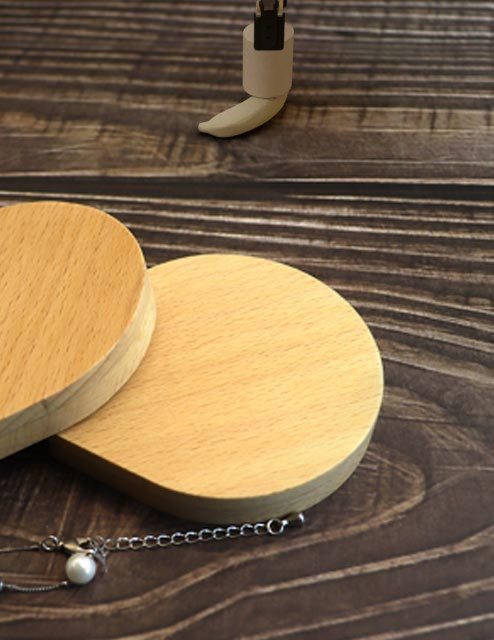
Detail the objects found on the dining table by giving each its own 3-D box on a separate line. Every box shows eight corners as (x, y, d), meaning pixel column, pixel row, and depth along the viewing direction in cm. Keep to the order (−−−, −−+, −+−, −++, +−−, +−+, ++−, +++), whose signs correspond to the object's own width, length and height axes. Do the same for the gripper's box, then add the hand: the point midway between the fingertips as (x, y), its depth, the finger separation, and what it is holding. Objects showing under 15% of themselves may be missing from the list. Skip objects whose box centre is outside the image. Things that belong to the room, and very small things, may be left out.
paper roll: (268, 67, 120) (270, 14, 115) (301, 85, 117) (304, 31, 112) (232, 85, 118) (232, 31, 113) (265, 103, 115) (266, 49, 110)
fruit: (310, 85, 123) (311, 60, 120) (251, 148, 114) (252, 122, 112) (256, 73, 126) (257, 48, 123) (196, 133, 117) (195, 108, 115)
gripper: (311, -104, 93) (303, 67, 105) (314, -169, 105) (306, -9, 117) (230, -101, 95) (231, 67, 107) (241, -166, 106) (241, -8, 119)
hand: (270, 27), depth 112 cm, fingers open, 9 cm apart
